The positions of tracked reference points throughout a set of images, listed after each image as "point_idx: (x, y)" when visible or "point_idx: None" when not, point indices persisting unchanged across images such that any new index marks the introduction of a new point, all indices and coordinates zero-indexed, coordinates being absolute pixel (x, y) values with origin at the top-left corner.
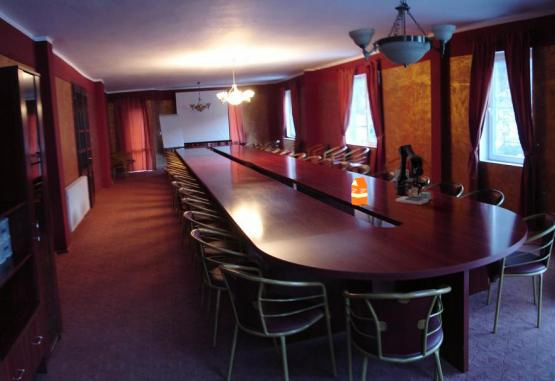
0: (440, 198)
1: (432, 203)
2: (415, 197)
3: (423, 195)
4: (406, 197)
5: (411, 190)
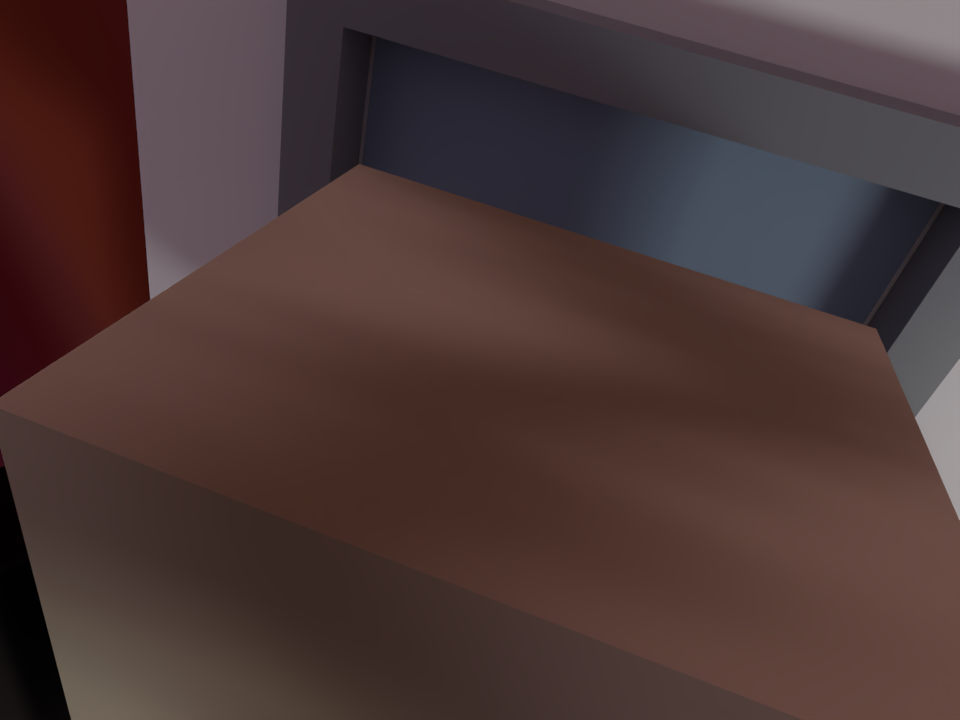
0: None
1: (14, 195)
2: None
3: None
4: None
5: (657, 577)
